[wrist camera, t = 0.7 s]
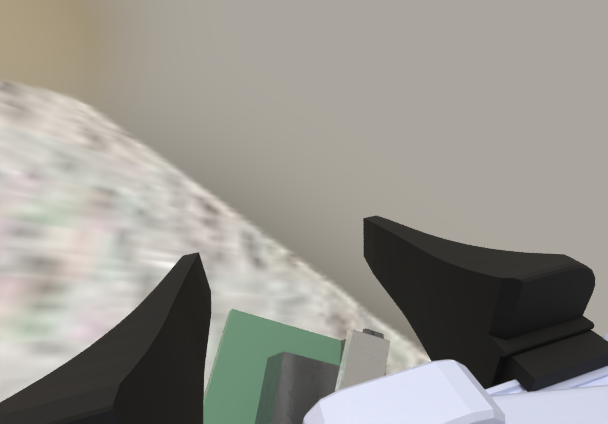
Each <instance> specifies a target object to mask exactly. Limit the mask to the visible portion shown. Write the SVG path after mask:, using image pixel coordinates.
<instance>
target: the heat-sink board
mask: <svg viewBox="0 0 608 424" xmlns="http://www.w3.org/2000/svg"><path fill="white" fill-rule="evenodd" d="M363 333H366V334H369V335H372V336H376V337H379V338H382V339H384V338H383V334H381V333H378V332H375V331H372V330H369V329H363ZM345 342H346V339H345V340H342V341H340V340H337V339H333V338H330V337H327V336H323V335H320V334H316V333H313V332H309V331H306V330H303V329H299V328H296V327H292V326H289V325H285V324H282V323H279V322H275V321H272V320H268V319H265V318H261V317H258V316H255V315H251V314H248V313H244V312H241V311H237V310H234V309H232V310H231V311H230V312H229V314H228V318H227V321H226V324H225V328H224V331H223V335H222V338H221V341H220V345H219V348H218V351H217V355H216V358H215V361H214V365H213V368H212V371H211V375H210V378H209V382H208V385H207V388H206V392H205V395H204V399H203V424H303V420H304V417H305V415H306V414H307V412H308V411H309V410H310V409H311V408H312V407H313V406H314V405H315V404H316V403H317V402H318V401H319V400H320V399H322V398H324V397H326V396H328V395H330V394H332V393H334V392H335V388H336V383H337V379H338V374H339V369H340V365H341V360H342V356H343V351H344V347H345Z"/></svg>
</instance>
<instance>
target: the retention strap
mask: <svg viewBox="0 0 608 424" xmlns="http://www.w3.org/2000/svg"><path fill="white" fill-rule="evenodd" d="M389 345H390V341H389V340H385V339H382V338H379V337H376V336H372V335H369V334H366V333H363V332H359V331H356V330H353V329H350V328H348V333H347V337H346V342H345V347H344V351H343V356H342V360H341V365H340V369H339V374H338V379H337V383H336V388H335V392H336V391H338V390H340V389H344V388H347V387H350V386H353V385H356V384H360V383H363V382H366V381H369V380H373V379H376V378H379V377H382V376H384V374H385V368H386V362H387V356H388V351H389Z"/></svg>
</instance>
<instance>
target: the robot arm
mask: <svg viewBox="0 0 608 424" xmlns="http://www.w3.org/2000/svg"><path fill="white" fill-rule="evenodd" d="M364 257H365V259H366V261H367V263H368V265H369V267H370V269H371V270H372V272H373V274H374V275H375V277H376V278H377V279H378V281H379V282H380V283H381V285H382V286H383V287H384V289H385V290H386V291H387V293H388V294H389V295H390V296H391V298H392V299H393V300H394V302H395V303H396V304H397V306H398V307H399V308H400V310H401V311H402V312H403V314H404V315H405V317H406V318H407V320H408V321H409V323H410V325H411V326H412V328H413V330H414V331H415V333H416V334H417V336H418V338H419V340H420V342H421V343H422V345H423V347H424V349H425V350H426V352H427V354H428V356H429V357H430V359H431V362H428V363H424V364H421V365H418V366H415V367H411V368H408V369H405V370H402V371H398V372H395V373H392V374H389V375H386V376H382V377H379V378H376V379H373V380H369V381H366V382H363V383H360V384H356V385H353V386H350V387H347V388H344V389H340V390H338V391H336V392H334V393H332V394H330V395H328V396H326V397H324V398H322V399H320V400H319V401H318V402H317V403H316V404H315V405H314V406H313V407H312V408H311V409H310V410H309V411H308V412H307V414H306V415H305V417H304V420H303V424H608V333H607V334H605V335H604V336H603V337H601V336H599V335H598V334H596V333H595V332H593V331H592V330H590V329H593V328H594V324H593V322H591V321H590V320H588V319H587V318H585V317H584V316H582V315H583V313H584V311H585V309H586V306H587V304H588V302H589V300H590V297H591V295H592V293H593V290H594V287H595V276H594V273H593V271H592V270H591V269H590V268H589V267H587V266H586V265H584V264H582V263H580V262H578V261H576V260H574V259H573V258H571V257H568V256H566V255H563V254H542V253H523V252H514V251H504V250H496V249H489V248H483V247H477V246H472V245H467V244H462V243H458V242H454V241H450V240H446V239H442V238H439V237H436V236H433V235H429V234H426V233H423V232H420V231H418V230H415V229H412V228H409V227H407V226H404V225H401V224H399V223H396V222H393V221H391V220H388V219H385V218H382V217H379V216H373V217H368V218H364ZM210 319H211V290H210V287H209V284H208V281H207V277H206V274H205V271H204V268H203V265H202V261H201V258H200V255H199V252H198V253H193V254H189V255H184V256H182V257H181V259H180V260H179V261H178V262H177V263H176V265H175V266H174V267H173V268H172V269H171V271H170V272H169V273H168V274H167V275H166V276H165V278H164V279H163V280H162V281H161V282H160V283H159V285H158V286H157V287H156V288H155V289H154V290H153V291H152V292H151V293H150V294H149V295H148V296H147V297H146V298H145V300H144V301H143V302H142V303H141V304H140V305H139V306H138V307H137V308H136V309H135V310H133V311H132V312H131V313H130V314H129V315H128V316H127V317H126V318H125V319H123V320H122V321H121V322H120V323H119V324H118V325H117V326H115V327H114V328H113V329H112V330H110V331H109V332H108V333H106V334H105V335H104V336H103V337H101V338H100V339H99V340H97V341H96V342H95V343H94V344H92V345H91V346H90V347H88V348H87V349H86V350H84V351H83V352H81V353H80V354H78V355H77V356H75V357H74V358H73V359H71V360H70V361H68V362H67V363H65V364H64V365H62V366H60V367H59V368H57V369H56V370H54V371H53V372H51V373H50V374H48V375H46V376H45V377H43V378H41V379H40V380H38V381H36V382H35V383H33V384H31V385H30V386H28V387H26V388H24V389H23V390H21V391H19V392H18V393H16V394H14V395H13V396H11V397H9V398H7V399H6V400H4V401H2V402H0V424H203V399H204V369H205V359H206V351H207V343H208V335H209V327H210Z"/></svg>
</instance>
